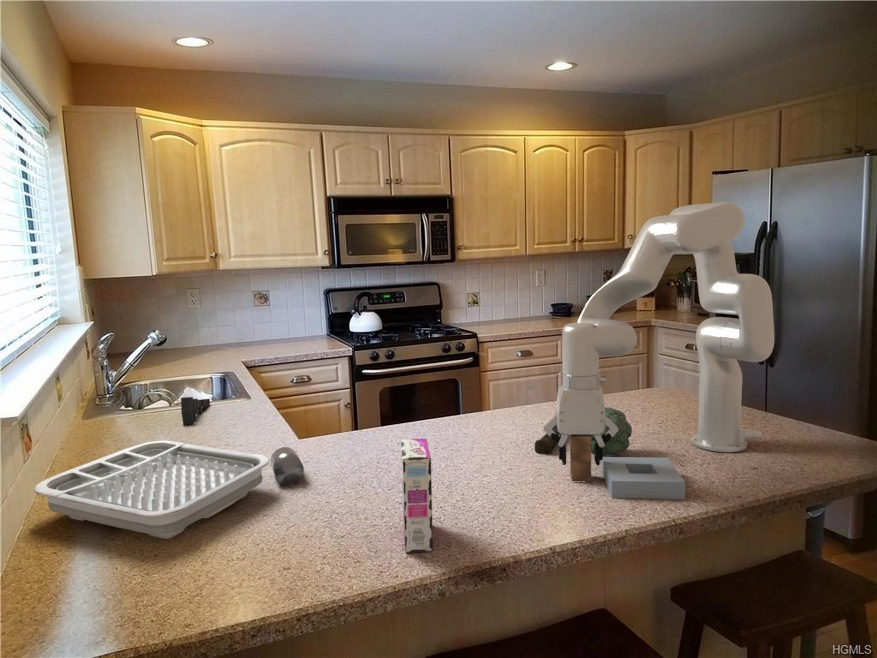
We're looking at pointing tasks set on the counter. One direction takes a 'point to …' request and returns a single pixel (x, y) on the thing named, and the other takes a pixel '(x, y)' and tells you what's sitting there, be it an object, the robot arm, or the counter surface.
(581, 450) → the square bit
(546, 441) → the charcoal colored rounded log
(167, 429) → the counter surface
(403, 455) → the candy bar box
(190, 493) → the dish rack
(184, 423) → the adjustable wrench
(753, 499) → the counter surface
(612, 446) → the vegetable
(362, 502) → the counter surface
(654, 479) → the socket block
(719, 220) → the robot arm
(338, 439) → the counter surface
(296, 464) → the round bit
